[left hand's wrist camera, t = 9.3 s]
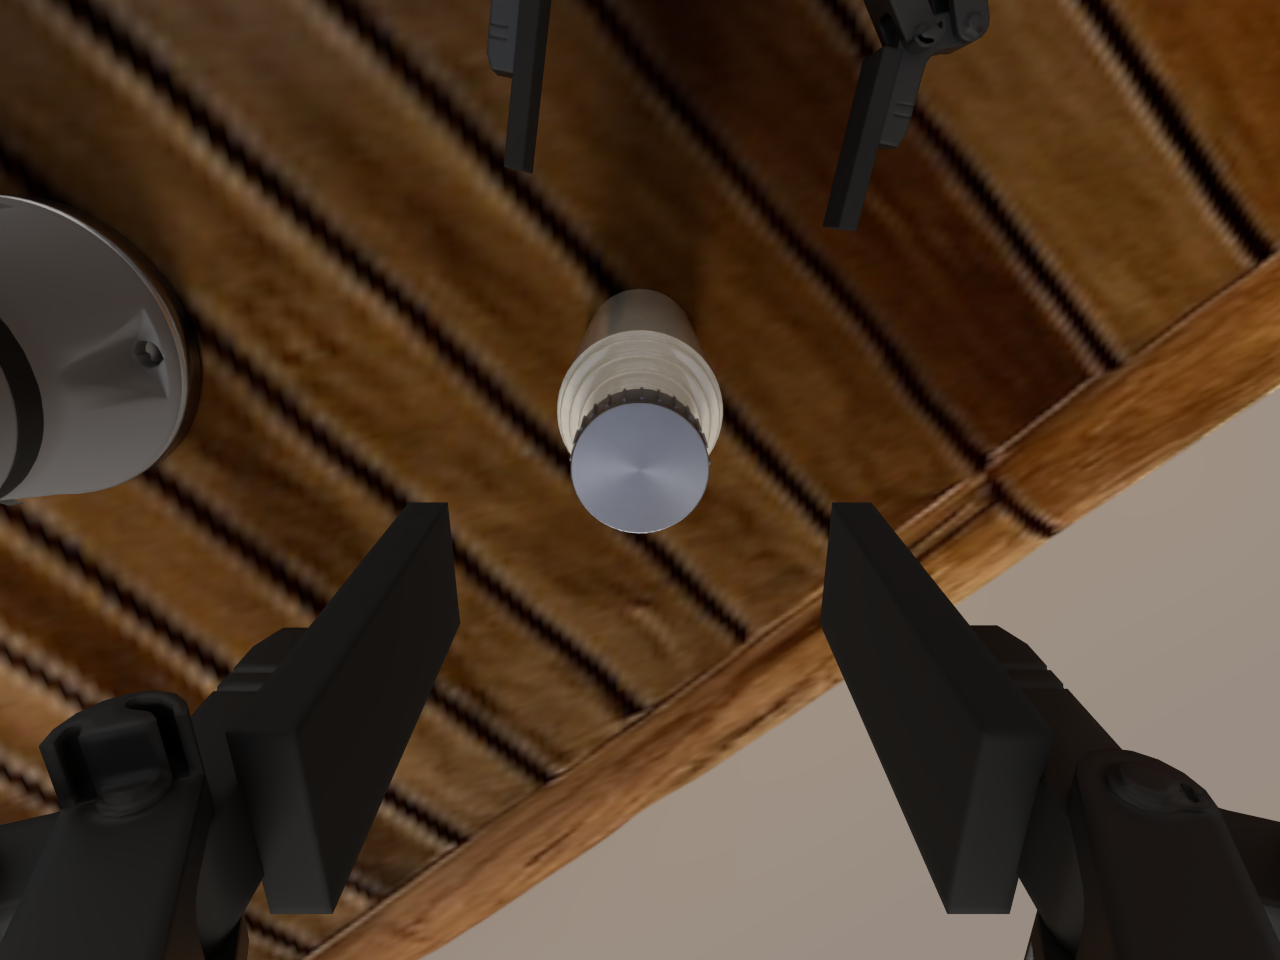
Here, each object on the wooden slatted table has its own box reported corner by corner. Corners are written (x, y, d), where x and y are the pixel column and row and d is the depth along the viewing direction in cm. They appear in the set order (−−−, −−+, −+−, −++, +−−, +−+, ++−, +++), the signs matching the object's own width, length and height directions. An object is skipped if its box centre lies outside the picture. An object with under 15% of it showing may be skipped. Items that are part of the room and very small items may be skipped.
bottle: (585, 287, 37) (532, 358, 19) (697, 290, 37) (752, 364, 19) (585, 396, 39) (537, 557, 21) (691, 399, 39) (736, 561, 21)
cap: (573, 384, 20) (567, 398, 19) (710, 387, 20) (716, 402, 19) (574, 510, 22) (568, 533, 20) (702, 513, 22) (707, 536, 20)
